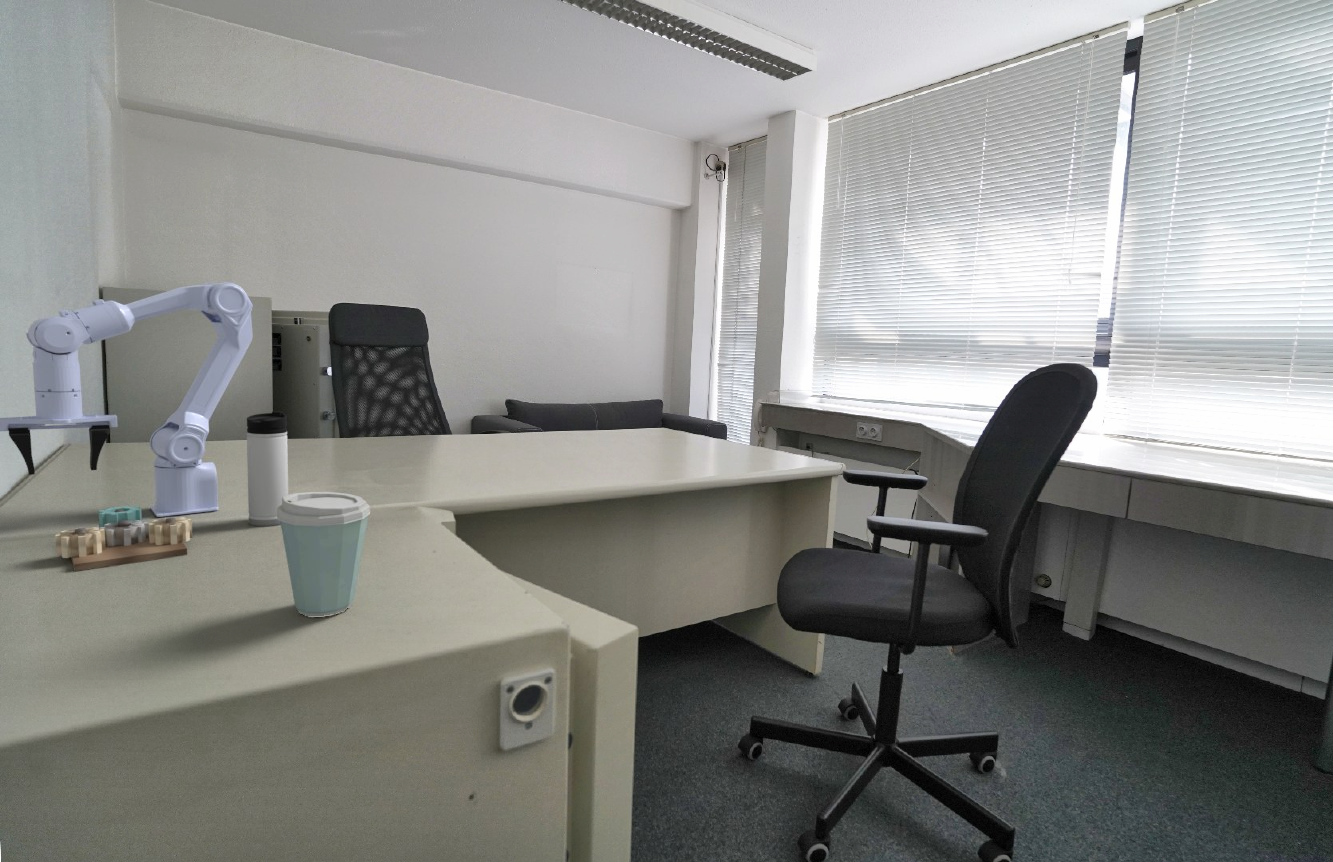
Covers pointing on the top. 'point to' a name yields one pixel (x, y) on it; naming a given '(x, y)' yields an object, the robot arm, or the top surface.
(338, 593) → the disposable coffee cup
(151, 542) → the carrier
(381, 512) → the top surface
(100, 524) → the teal gear
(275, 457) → the travel mug
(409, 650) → the top surface
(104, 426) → the robot arm
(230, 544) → the top surface
